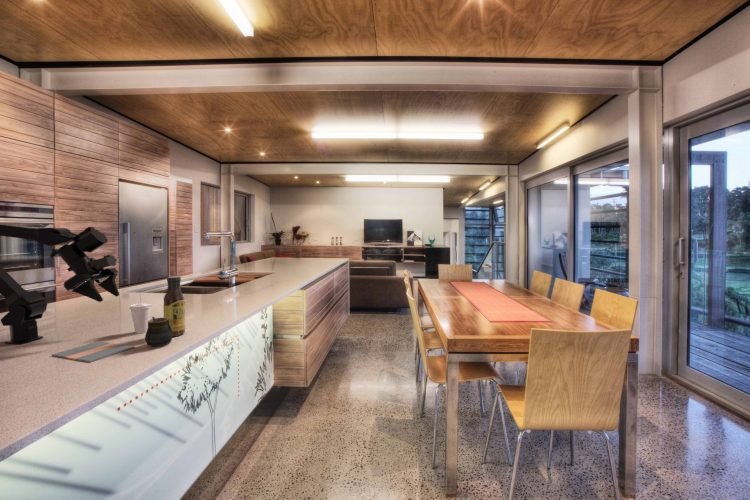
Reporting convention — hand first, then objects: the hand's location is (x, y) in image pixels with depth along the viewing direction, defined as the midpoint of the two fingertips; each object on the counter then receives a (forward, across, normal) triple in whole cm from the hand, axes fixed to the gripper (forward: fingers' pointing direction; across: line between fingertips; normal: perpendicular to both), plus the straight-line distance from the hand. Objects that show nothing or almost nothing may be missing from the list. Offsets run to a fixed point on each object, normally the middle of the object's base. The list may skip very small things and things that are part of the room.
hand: (110, 298), depth 113 cm
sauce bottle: (+22, -2, -10) cm, 24 cm away
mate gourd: (+22, -13, -9) cm, 27 cm away
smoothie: (+15, +3, +1) cm, 15 cm away
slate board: (+13, -16, +4) cm, 21 cm away
